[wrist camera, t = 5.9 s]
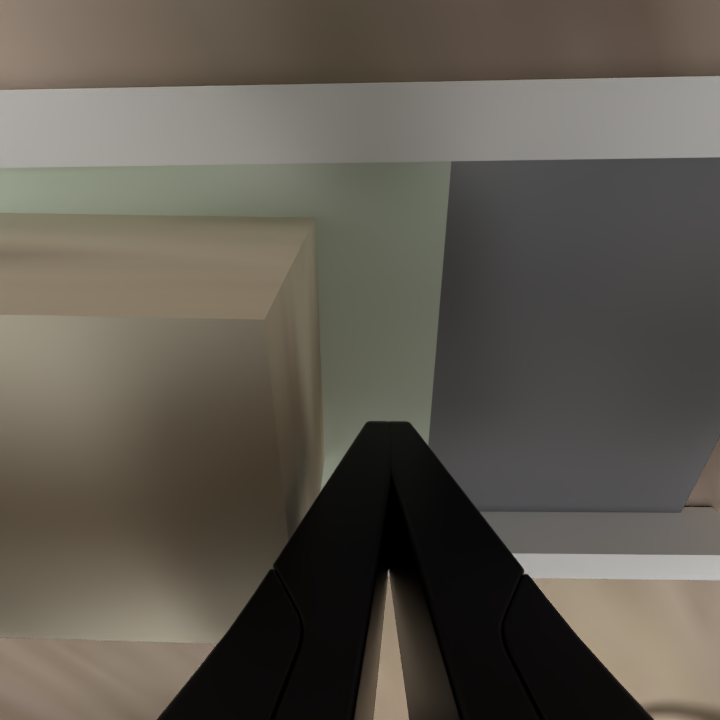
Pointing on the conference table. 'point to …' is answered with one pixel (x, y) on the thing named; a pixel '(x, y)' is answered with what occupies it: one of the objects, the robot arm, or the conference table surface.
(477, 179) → the trap lane
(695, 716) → the conference table surface
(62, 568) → the birch block
